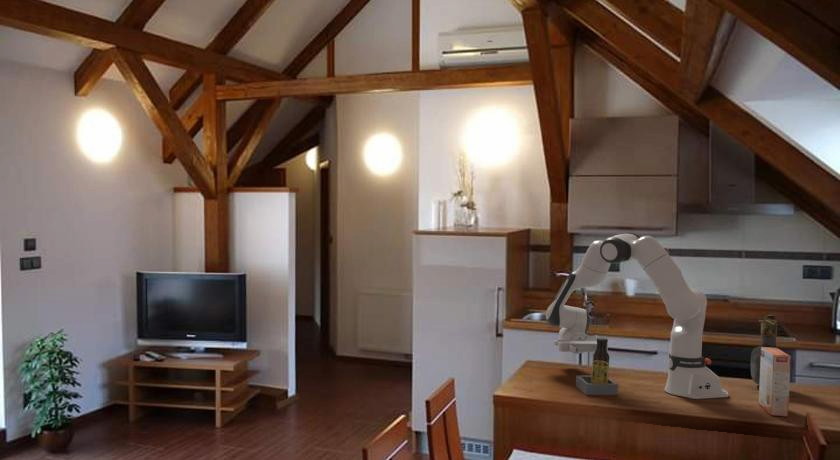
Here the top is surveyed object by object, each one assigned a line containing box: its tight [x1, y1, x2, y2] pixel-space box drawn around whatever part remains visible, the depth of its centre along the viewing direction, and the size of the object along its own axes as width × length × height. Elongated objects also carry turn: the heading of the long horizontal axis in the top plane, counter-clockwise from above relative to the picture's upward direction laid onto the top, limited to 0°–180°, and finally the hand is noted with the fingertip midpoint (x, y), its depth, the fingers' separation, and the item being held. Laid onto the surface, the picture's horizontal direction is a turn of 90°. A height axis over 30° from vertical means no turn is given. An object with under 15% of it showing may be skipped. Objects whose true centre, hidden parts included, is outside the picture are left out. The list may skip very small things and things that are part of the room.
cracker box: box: [758, 347, 792, 418], centre depth 234 cm, size 14×6×21 cm, turn 168°
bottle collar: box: [575, 375, 619, 396], centre depth 257 cm, size 12×13×4 cm
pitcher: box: [750, 311, 783, 391], centre depth 263 cm, size 11×19×30 cm, turn 163°
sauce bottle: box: [591, 337, 610, 384], centre depth 257 cm, size 6×6×20 cm
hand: (587, 350), depth 269 cm, fingers open, 8 cm apart
